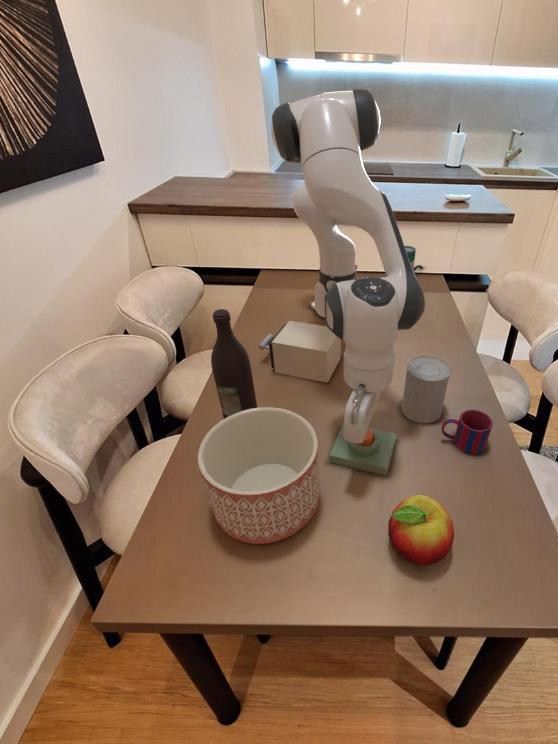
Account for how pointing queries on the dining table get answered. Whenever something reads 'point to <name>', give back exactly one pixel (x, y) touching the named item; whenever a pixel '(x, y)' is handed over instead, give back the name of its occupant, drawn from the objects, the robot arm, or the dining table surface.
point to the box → (365, 452)
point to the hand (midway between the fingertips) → (364, 426)
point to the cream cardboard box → (306, 351)
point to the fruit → (421, 530)
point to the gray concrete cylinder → (425, 388)
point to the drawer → (270, 345)
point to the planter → (261, 473)
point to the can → (411, 254)
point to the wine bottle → (231, 369)
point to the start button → (368, 438)
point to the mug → (471, 431)
